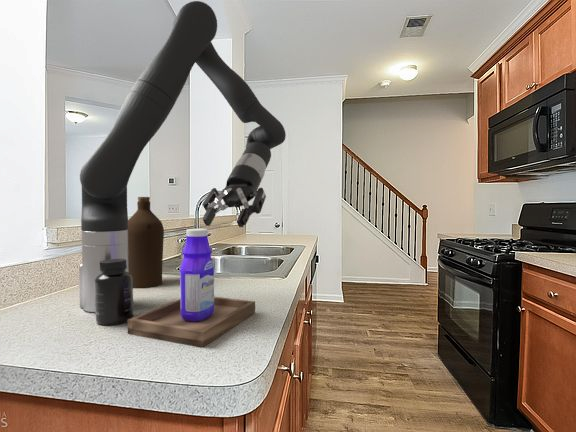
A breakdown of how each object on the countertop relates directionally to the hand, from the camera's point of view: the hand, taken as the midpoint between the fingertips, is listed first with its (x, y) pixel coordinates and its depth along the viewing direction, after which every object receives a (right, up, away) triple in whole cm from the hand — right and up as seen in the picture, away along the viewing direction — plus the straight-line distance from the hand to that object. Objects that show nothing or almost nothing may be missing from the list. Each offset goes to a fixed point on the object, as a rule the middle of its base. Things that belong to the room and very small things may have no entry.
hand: (222, 224), depth 76 cm
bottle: (-3, -18, -8) cm, 20 cm away
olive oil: (-27, -18, +24) cm, 40 cm away
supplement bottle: (-20, -19, -7) cm, 29 cm away
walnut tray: (-4, -19, -8) cm, 21 cm away
